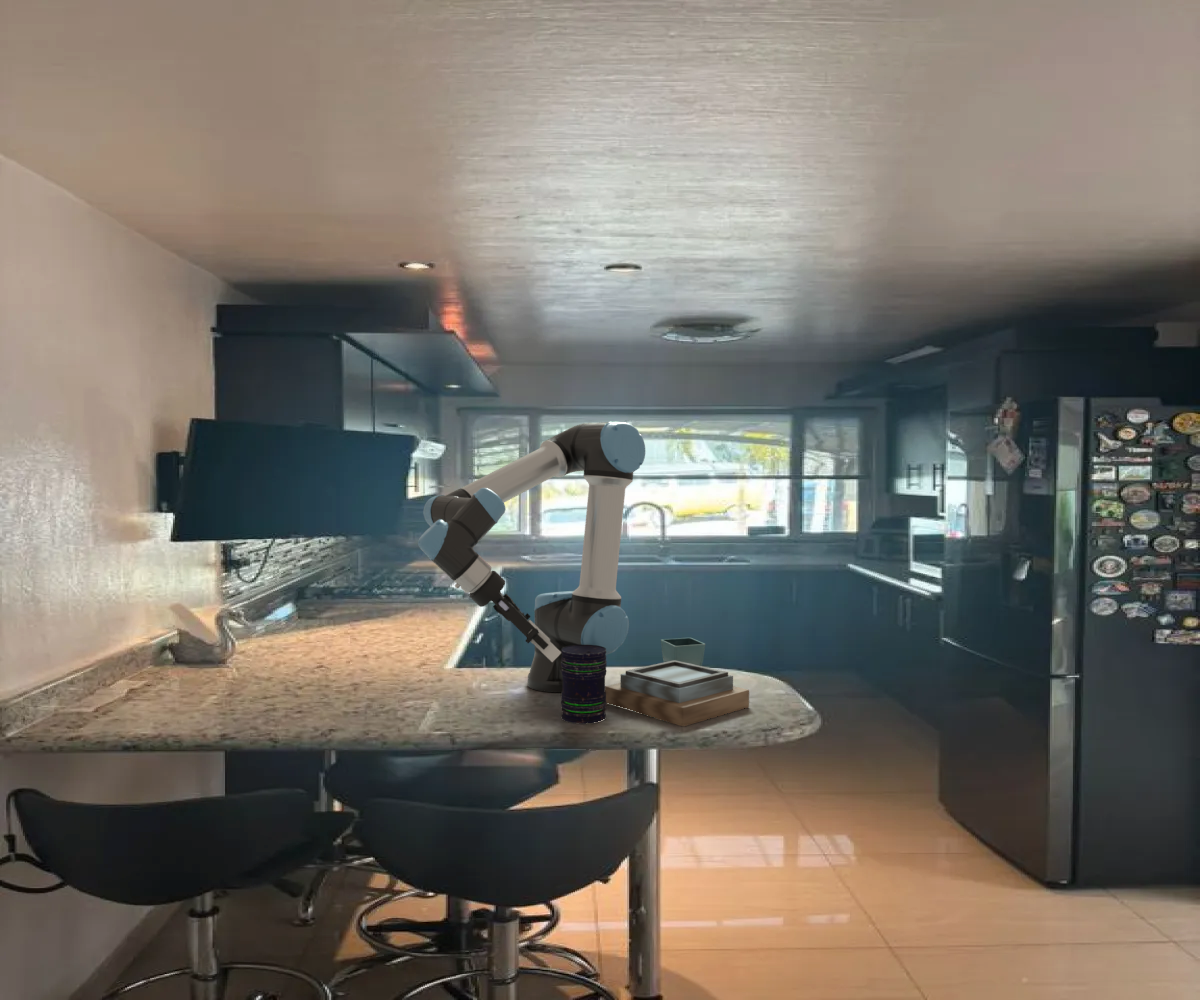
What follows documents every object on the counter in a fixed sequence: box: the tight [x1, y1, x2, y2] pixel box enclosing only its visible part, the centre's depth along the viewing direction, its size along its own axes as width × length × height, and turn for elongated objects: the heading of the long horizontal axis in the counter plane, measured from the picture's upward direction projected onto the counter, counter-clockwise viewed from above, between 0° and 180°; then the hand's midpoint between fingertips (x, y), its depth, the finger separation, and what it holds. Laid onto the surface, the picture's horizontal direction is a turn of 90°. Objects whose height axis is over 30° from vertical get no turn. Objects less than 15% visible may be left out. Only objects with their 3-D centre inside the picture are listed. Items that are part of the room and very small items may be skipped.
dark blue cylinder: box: [560, 645, 608, 725], centre depth 201 cm, size 10×10×15 cm
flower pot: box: [660, 637, 706, 666], centre depth 239 cm, size 9×9×9 cm
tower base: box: [605, 660, 750, 727], centre depth 211 cm, size 24×22×8 cm
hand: (551, 650), depth 198 cm, fingers open, 13 cm apart
